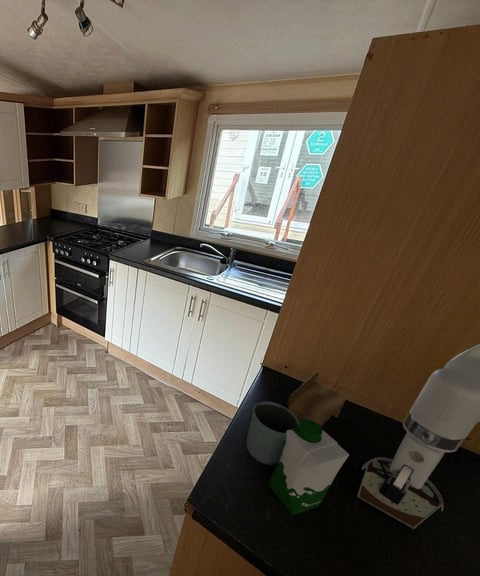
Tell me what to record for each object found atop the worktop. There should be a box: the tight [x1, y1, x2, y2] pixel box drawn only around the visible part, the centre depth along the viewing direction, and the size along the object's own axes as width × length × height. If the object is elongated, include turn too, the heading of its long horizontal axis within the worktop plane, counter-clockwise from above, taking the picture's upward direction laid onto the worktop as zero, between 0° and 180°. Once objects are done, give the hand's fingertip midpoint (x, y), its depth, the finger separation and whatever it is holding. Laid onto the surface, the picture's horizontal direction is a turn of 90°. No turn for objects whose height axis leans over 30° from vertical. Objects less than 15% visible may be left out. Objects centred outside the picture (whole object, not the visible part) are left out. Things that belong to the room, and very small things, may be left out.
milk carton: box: [267, 419, 350, 517], centre depth 66 cm, size 9×9×20 cm
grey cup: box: [245, 401, 299, 466], centre depth 79 cm, size 10×10×12 cm
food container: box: [357, 456, 445, 530], centre depth 66 cm, size 12×6×10 cm, turn 47°
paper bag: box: [286, 372, 347, 428], centre depth 88 cm, size 9×16×10 cm, turn 125°
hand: (394, 487), depth 66 cm, fingers closed on food container, 6 cm apart
